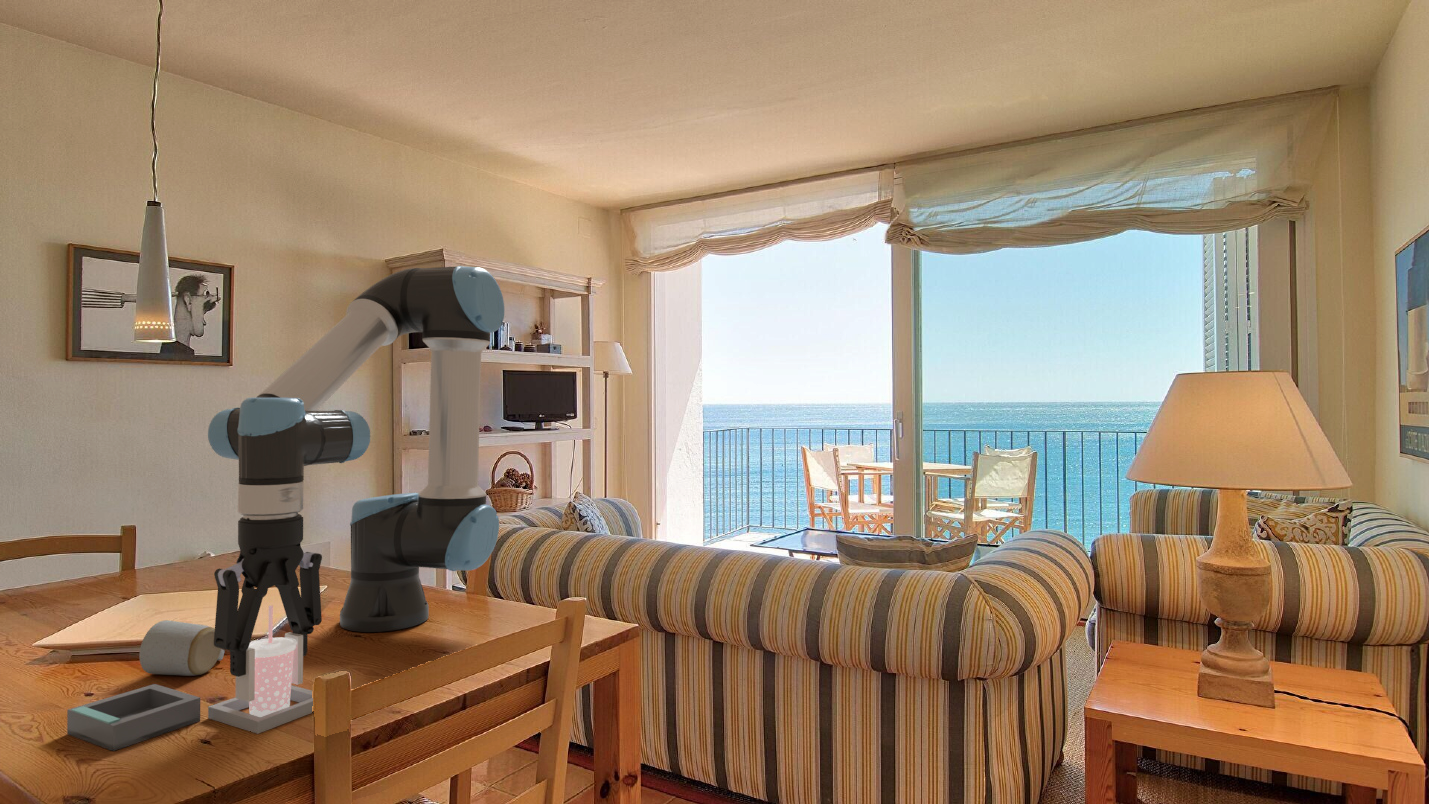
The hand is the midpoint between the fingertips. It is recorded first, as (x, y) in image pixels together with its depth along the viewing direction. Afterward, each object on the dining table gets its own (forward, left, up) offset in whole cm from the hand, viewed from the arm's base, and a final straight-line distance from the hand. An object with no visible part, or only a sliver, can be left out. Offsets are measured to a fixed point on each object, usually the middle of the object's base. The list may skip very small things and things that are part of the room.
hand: (269, 690), depth 107 cm
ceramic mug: (-4, -26, -3) cm, 26 cm away
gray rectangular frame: (0, 0, -3) cm, 3 cm away
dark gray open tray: (+11, -10, -3) cm, 15 cm away
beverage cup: (0, 0, -3) cm, 3 cm away
